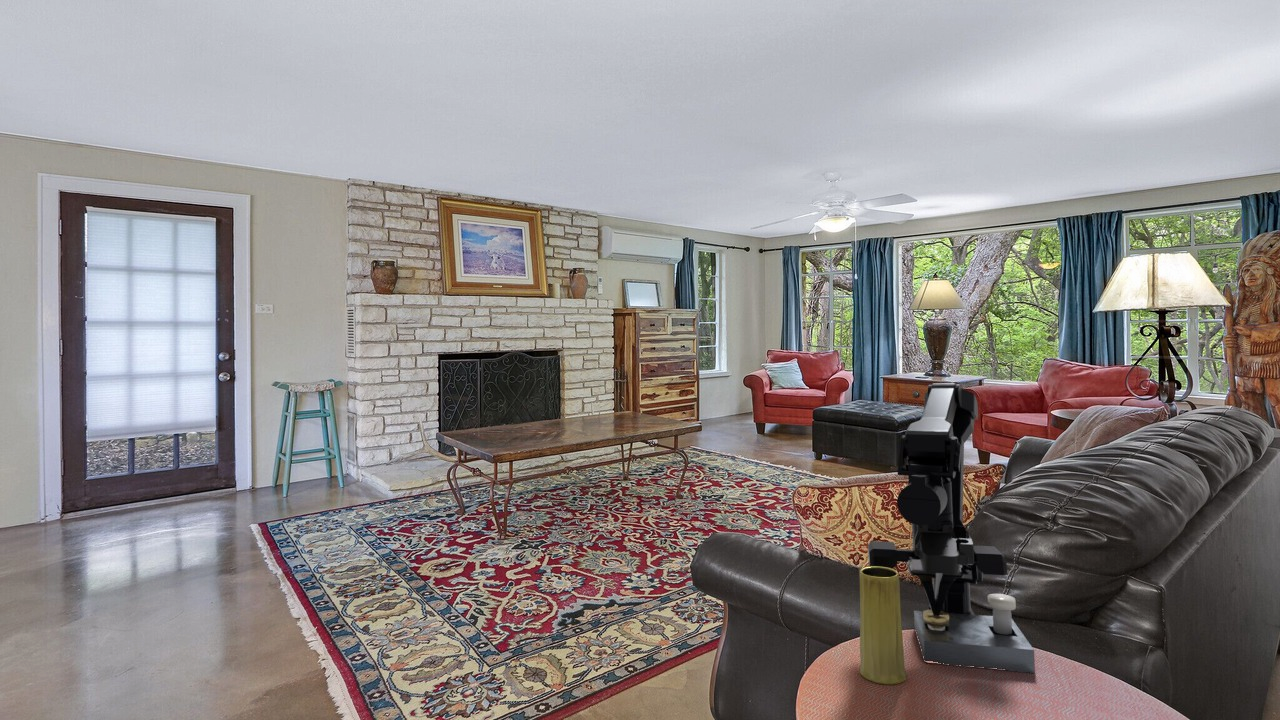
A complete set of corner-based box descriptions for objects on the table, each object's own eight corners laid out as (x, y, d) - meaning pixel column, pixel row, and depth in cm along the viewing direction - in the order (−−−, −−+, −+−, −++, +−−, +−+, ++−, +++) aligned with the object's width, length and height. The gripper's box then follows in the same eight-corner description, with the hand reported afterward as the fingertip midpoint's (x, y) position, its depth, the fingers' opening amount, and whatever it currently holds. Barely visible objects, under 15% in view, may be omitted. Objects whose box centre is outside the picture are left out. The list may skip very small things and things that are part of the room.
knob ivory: (986, 625, 97) (985, 592, 98) (1013, 627, 96) (1011, 594, 96) (992, 635, 94) (990, 601, 94) (1019, 637, 93) (1018, 603, 93)
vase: (898, 665, 92) (895, 565, 93) (912, 686, 86) (908, 578, 87) (855, 664, 93) (851, 565, 93) (865, 685, 87) (861, 578, 87)
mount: (914, 630, 104) (913, 610, 104) (1011, 638, 100) (1010, 617, 100) (924, 663, 93) (923, 640, 93) (1035, 673, 89) (1034, 649, 89)
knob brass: (922, 640, 100) (921, 608, 100) (948, 642, 99) (946, 610, 99) (926, 650, 96) (924, 617, 97) (952, 652, 95) (951, 619, 96)
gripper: (869, 521, 93) (874, 629, 93) (1014, 525, 88) (1019, 641, 87) (866, 505, 104) (869, 602, 103) (995, 508, 98) (999, 611, 98)
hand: (936, 614), depth 98 cm, fingers closed, pressing on knob brass
